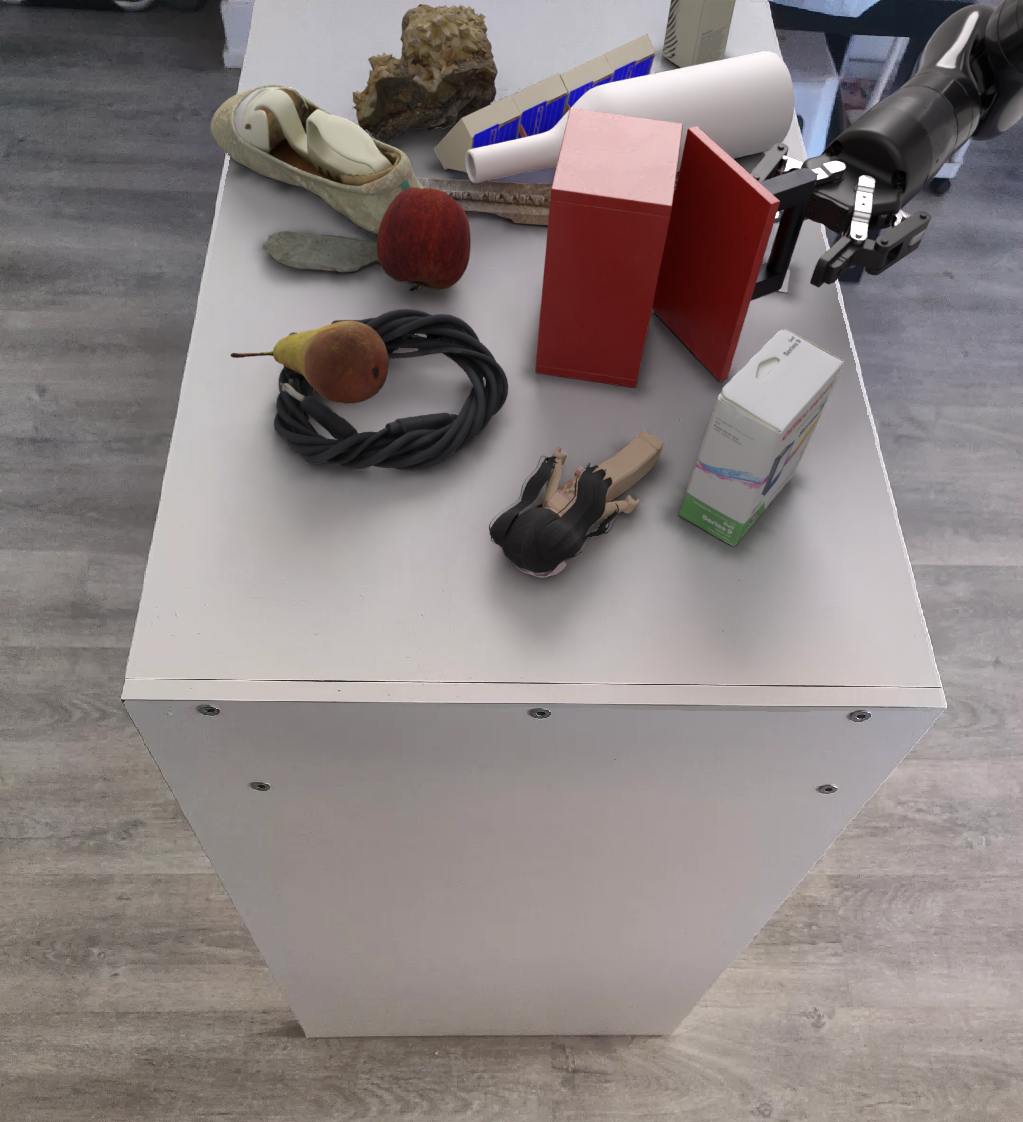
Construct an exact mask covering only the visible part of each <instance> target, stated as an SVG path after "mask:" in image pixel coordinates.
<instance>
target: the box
mask: <svg viewBox="0 0 1023 1122" xmlns="http://www.w3.org/2000/svg"><path fill="white" fill-rule="evenodd" d="M736 2H737V0H670V5H669V8H668V10H669V11H668V15H667V16H668V17H667V23H666V27H665V28H666V29H665V35H664V42H663V47H662V51H661V52H662V53H661V55H662V56H663V57H664V58H665V59H667V60H669V61H670V62H671V63H673V64H674V65H676V66H677V67H679V68H684V67H689V66H694V65H699V64H704V63H709V62H714V61H718V60H723V59H725V58H724V57H725V54H726V53H725V52H726V49H727V45H728V40H729V35H730V30H731V25H732V20H733V15H734V11H735V7H736V6H735V5H736Z"/></svg>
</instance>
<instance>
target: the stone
mask: <svg viewBox="0 0 1023 1122" xmlns="http://www.w3.org/2000/svg"><path fill="white" fill-rule="evenodd" d="M262 249H264V251H266V252H267V253H268V254H269V255H271V257H272V258H273V259H274V260H275V261H276V262H278V263H280V264H283V265H286V266H287V267H290V268H295V269H299V270H319V271H326V272H338V273H352V272H358V271H359V270H360V269H361V268H362V267H367V266H368V265H370V264H373V263H380V262H379V259H378V253H377V241H375V240H371V239H367V238H366V239H365V238H356V237H348V236H343V235H331V234H330V235H329V234H320V235H319V234H310V233H299V232H295V231H289V230H283V231H278V233H277V232H274V233H272V234H269V235H268V238H267V241H265V242H264V243H263V244H262Z"/></svg>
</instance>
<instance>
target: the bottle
mask: <svg viewBox="0 0 1023 1122" xmlns="http://www.w3.org/2000/svg"><path fill="white" fill-rule="evenodd" d="M571 108H575V109H582V110H589V111H596V112H603V113H610V114H617V115H625V116H632V117H639V118H646V119H653V120H660V121H668V122H675V123H682V124H683V129H682V136H681V144H680V152H679V159H678V167H677V173H679V170H680V165H681V160H682V155H683V150H684V145H685V140H686V135H687V130H688V128H691V127H694V126H697V127H699V128H700V129H701V130H702V131H703V132H704V133H705V134H706V135H707V136H708V137H710V138H711V139H712V140H713V141H714V142H715V143H716V144H717V145H718V146H720V147H721V148H722V149H723V150H724V151H725V152H726V153H727V154H728V155H730V156H731V157H732V158H733V159H734V160H735V159H739V158H742V157H748V156H751V155H755V154H760V153H764V152H768V151H769V150H770V149H771V148H772V146H773V145H774V144H776V143H783V142H784V140H785V139H786V137H787V136H788V133H789V131H790V129H791V126H792V123H793V118H794V111H795V89H794V84H793V79H792V76H791V73H790V69H788V66H787V64H786V63H785V61H784V60H783V58H782V57H780V56H779V55H778V54H777V53H775V52H774V51H767V50H764V51H758V52H754V53H748V54H743V55H739V56H734V57H733V56H732V57H729V58H723V59H721V60H718V61H714V62H709V63H704V64H699V65H694V66H689V67H684V68H681V67H679V68H675V69H670V70H665V71H660V72H656V73H650V75H645V76H641V77H636V78H631V79H626V80H621V81H616V82H611V83H607V84H603V85H600V86H597V87H594V88H592V89H590V90H588V91H587V92H586V93H585V94H584V95H583V96H582V97H581V98H580V99H579V100H578V101H577V102H576V103H575V104H574V105H573V106H572V107H571ZM569 111H570V109H569ZM569 111H568V112H567V113H566V114H565V115H564V116H563V117H562V119H561V120H560V121H559V122H558V123H557V124H556V125H555V126H554V127H553V128H552V129H551V130H549V131H547V132H544V133H541V134H537V135H533V136H528V137H524V138H520V139H515V140H511V141H506V142H502V143H497V144H493V145H488V146H483V147H479V148H474V149H470V150H468V151H467V152H466V155H465V165H466V171H467V172H466V174H467V177H468V180H471V182H473V183H480V182H485V181H494V180H497V179H502V178H507V177H510V176H515V175H519V174H524V173H530V172H533V171H534V172H535V171H538V170H544V169H551V168H556V166H557V162H558V158H559V153H560V149H561V145H562V141H563V136H564V132H565V128H566V124H567V119H568V115H569Z"/></svg>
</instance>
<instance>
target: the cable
mask: <svg viewBox="0 0 1023 1122" xmlns="http://www.w3.org/2000/svg"><path fill="white" fill-rule="evenodd" d="M341 321H357V322H361V323H364V324H366V325H368V326H370V327H371V328H372V329H374V330H375V331H376V332H377V333H378V335H379V336H380V337H381V339H382V340H383V342H384V344H385V347H386V350H387V354H388V360H389V359H390V360H391V359H411V358H417V357H419V358H420V357H424V356H430V355H437V354H439V355H440V354H441V355H444V356H445V357H446V358H448V359H450V360H451V361H453V362H454V363H455V364H456V365H457V366H458V367H460V369H462V371H463V372H464V373H465V374H466V376H467V378H468V379H469V381H470V383H471V384H472V387H471V390H470V391H469V394H468V396H467V398H466V400H465V401H464V403H463V405H462V407H461V409H460V411H459V412H458V414H457V413H449V412H437V413H429V414H421V415H420V414H419V415H415V416H408V417H400V418H396V419H395V420H394V421H392V422H387V423H386V424H385V427H384V428H382V429H381V430H378V431H372V430H371V431H362V432H358V430H357V429H356V428H355V427H354V425H352V424H351V423H350V422H349V421H348V420H346V419H345V418H344V417H342V416H340V415H338V413H336V412H335V411H334V410H332V409H331V407H329V406H327V405H326V404H324V402H322V401H321V400H319V399H318V398H316V397H314V391H315V389H314V388H313V387H312V386H311V385H310V384H309V382H308V381H307V379H306V378H305V377H304V376H303V375H301V374H300V373H298V372H296V371H294V370H291V369H289V368H287V367H286V366H284V365H283V364H282V366H283V367H282V369H281V371H280V373H279V377H278V391H279V393H278V395H277V397H276V401H275V406H276V413H275V416H274V419H273V427H274V428H273V429H274V430H275V432H276V433H277V434H278V435H279V436H280V437H281V438H283V439H286V441H287V443H288V444H289V446H290V447H291V449H293V450H294V451H295V452H298V453H300V455H301V457H302V458H303V460H304V461H305V462H307V463H309V464H311V465H319V464H322V463H325V462H326V463H328V464H331V465H337V466H340V467H342V468H346V469H348V470H362V469H363V470H364V469H369V468H371V467H376V468H381V469H383V468H384V469H392V470H398V471H405V472H406V471H408V472H409V471H412V472H413V471H420V470H425V469H428V468H430V467H431V468H432V467H433V466H436V465H438V464H439V463H442V462H443V461H445V460H446V459H448V458H449V457H451V455H452V454H454V453H457V452H459V451H461V450H462V449H464V448H465V447H466V446H468V445H469V444H470V443H471V442H473V440H474V439H475V438H476V437H477V436H479V434H480V433H482V432H483V430H485V428H486V427H487V426H488V425H489V423H490V421H491V419H492V418H493V417H494V416H495V415H496V414H498V413H499V411H501V409H502V408H503V407H504V405H505V404H506V401H507V398H508V395H509V382H508V376H507V375H506V372H505V371H504V369H503V368H502V366H501V365H500V364H499V362H497V360H496V358H495V357H494V355H493V353H492V352H491V351H490V349H488V348H487V346H485V344H483V342H481V341H480V338H479V337H478V335H477V333H476V332H475V330H474V328H472V326H470V325H469V324H468V323H467V322H466V321H465V320H463V319H462V318H460V317H458V316H455V315H451V314H444V313H437V314H432V313H429V312H427V311H424V310H423V311H422V310H419V309H414V308H413V309H410V308H399V309H393V310H390V311H387V312H384V313H382V314H380V315H377V316H376V317H368V318H363V319H336V320H332V322H331V323H330V324H333V323H337V322H341ZM296 333H297V332H294V331H293V332H290V333H289V334H288V336H289V335H292V334H296ZM422 335H425V336H422ZM401 349H402V350H403V349H414V350H413V351H404V352H403V351H402V352H396V351H398V350H401ZM415 349H416V350H415ZM310 417H311V418H312V419H313V420H314V421H315V422H317V423H318V424H319V425H320V426H321V427H323V428H324V430H326V431H327V432H328V433H329V434H330V436H331V437H333V438H327V437H325V436H323V435H321V434H319V432H318V431H317V430H316V429H315V427H314V425H312V424H311V422H310Z"/></svg>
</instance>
